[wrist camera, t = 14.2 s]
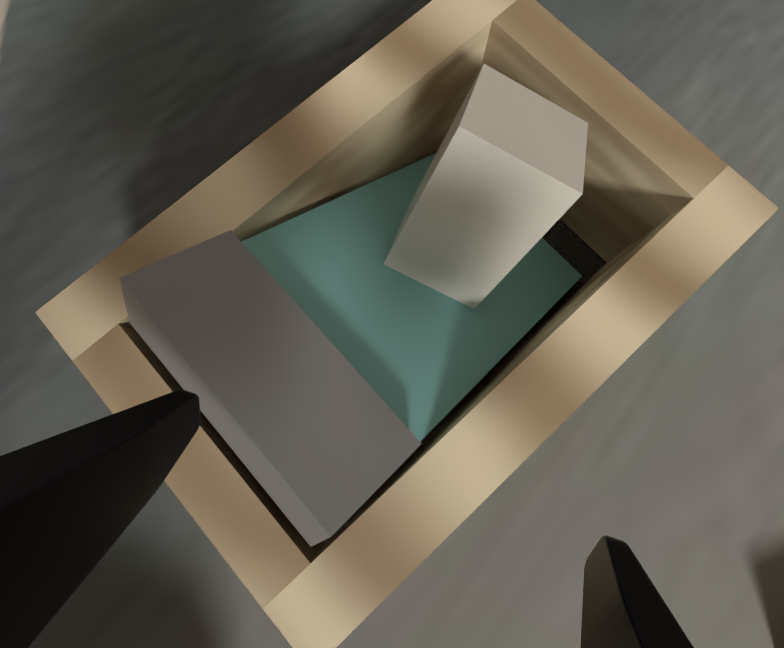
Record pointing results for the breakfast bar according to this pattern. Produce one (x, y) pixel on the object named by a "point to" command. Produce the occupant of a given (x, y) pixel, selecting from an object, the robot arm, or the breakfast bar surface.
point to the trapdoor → (329, 344)
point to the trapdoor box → (512, 376)
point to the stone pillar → (490, 189)
